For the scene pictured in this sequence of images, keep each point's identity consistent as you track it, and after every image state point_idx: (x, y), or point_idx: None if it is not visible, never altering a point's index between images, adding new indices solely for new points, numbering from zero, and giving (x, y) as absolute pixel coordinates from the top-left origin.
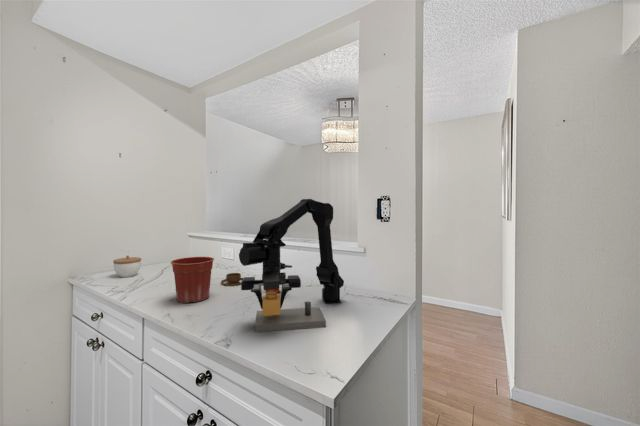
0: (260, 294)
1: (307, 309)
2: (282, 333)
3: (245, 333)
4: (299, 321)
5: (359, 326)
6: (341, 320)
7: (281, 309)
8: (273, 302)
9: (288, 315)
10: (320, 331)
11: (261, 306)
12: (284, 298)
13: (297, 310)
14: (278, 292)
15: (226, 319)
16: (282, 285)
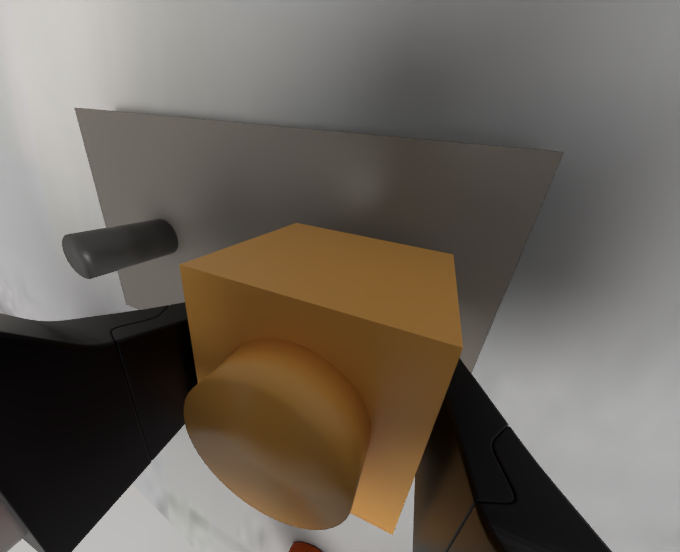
0: (503, 530)
1: (125, 227)
2: (335, 72)
3: (642, 148)
4: (199, 136)
5: (3, 80)
6: (71, 174)
7: None
8: (294, 275)
9: None
10: (133, 54)
11: None
12: (161, 307)
13: None
14: (297, 546)
15: None
16: (27, 531)
